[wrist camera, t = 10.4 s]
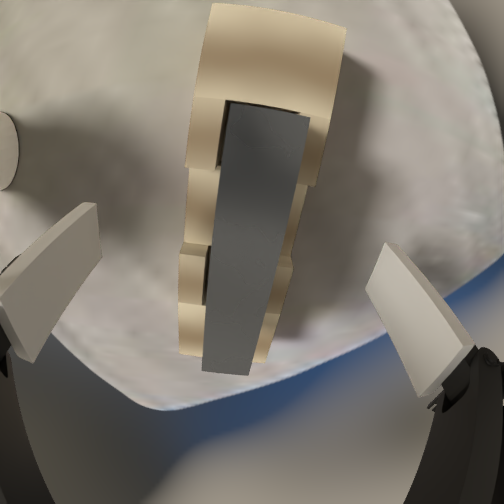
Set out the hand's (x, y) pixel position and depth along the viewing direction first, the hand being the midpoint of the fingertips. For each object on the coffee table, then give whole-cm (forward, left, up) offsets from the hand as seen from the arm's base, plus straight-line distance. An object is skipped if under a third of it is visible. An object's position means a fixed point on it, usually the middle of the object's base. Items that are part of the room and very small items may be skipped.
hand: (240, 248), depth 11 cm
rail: (0, 0, -8) cm, 8 cm away
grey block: (+1, 0, -7) cm, 7 cm away
